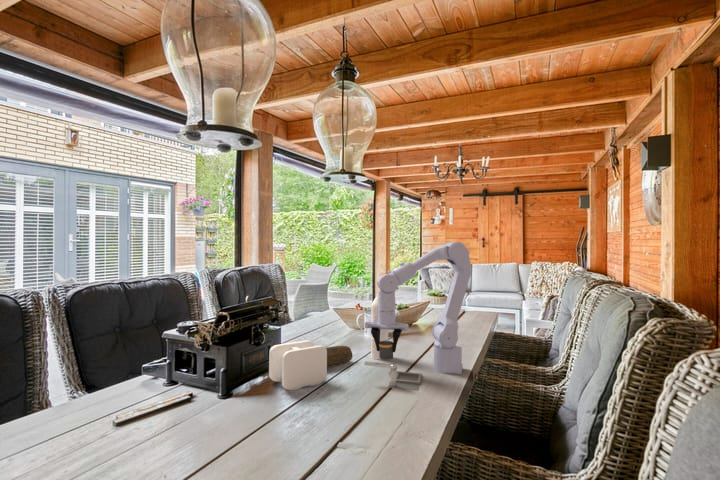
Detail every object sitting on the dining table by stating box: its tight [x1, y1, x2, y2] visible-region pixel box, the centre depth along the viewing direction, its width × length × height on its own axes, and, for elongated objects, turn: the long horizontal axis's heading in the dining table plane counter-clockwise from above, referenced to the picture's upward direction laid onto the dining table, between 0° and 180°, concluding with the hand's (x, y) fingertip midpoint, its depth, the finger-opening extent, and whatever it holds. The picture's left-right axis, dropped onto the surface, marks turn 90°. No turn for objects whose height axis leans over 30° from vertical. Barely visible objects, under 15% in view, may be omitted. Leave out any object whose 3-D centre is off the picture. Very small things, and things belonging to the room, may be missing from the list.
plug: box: [379, 340, 394, 360], centre depth 125 cm, size 5×5×5 cm
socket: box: [387, 368, 423, 391], centre depth 116 cm, size 9×14×6 cm, turn 166°
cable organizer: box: [268, 339, 328, 392], centre depth 116 cm, size 15×11×12 cm
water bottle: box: [370, 291, 389, 361], centre depth 139 cm, size 9×6×25 cm
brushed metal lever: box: [364, 360, 398, 370], centre depth 113 cm, size 10×2×1 cm, turn 71°
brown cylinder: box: [325, 345, 353, 368], centre depth 132 cm, size 15×7×7 cm, turn 132°
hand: (386, 350), depth 125 cm, fingers closed on plug, 5 cm apart
